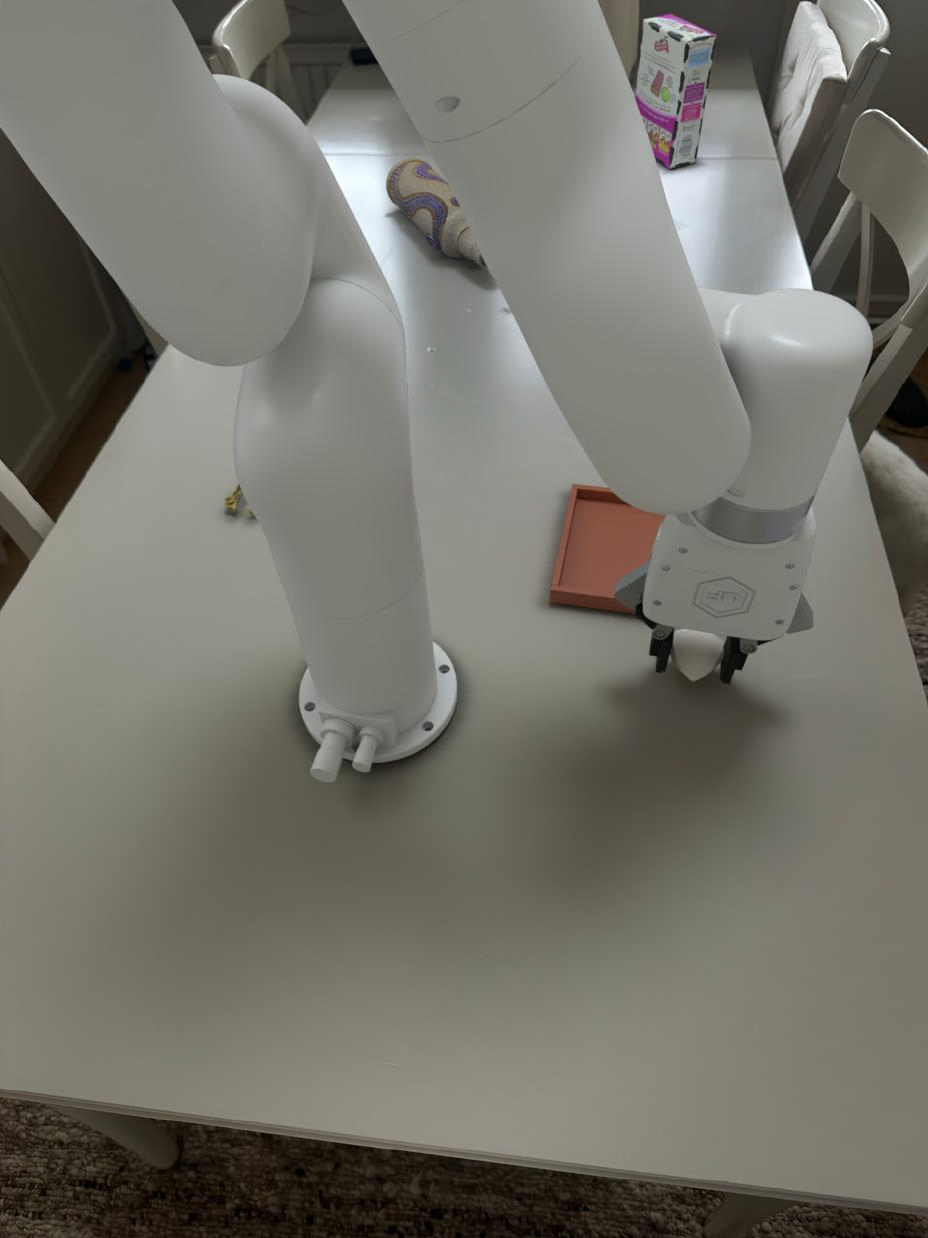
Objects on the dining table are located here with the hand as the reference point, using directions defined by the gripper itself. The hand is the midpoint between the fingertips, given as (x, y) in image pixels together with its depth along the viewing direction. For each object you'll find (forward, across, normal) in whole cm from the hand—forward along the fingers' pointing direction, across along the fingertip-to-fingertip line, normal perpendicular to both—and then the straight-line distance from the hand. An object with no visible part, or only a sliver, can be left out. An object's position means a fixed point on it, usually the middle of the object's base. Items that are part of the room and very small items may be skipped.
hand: (693, 662), depth 68 cm
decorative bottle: (+2, -36, +65) cm, 75 cm away
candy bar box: (+1, -9, +96) cm, 97 cm away
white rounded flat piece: (+1, 0, 0) cm, 1 cm away
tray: (+2, -5, +12) cm, 13 cm away
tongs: (+3, -43, +17) cm, 46 cm away
